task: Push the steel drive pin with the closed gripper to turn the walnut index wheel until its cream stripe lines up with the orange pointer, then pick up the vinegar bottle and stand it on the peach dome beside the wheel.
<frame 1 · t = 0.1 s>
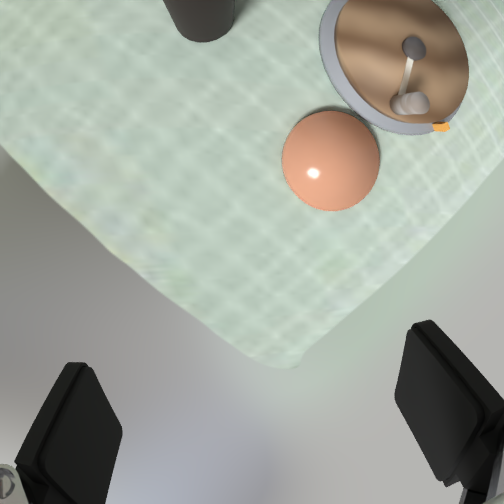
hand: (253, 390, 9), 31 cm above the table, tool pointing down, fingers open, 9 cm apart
index wheel: (418, 47, 28), point 5 cm above the table, hinge at 0.0°
peach dome: (331, 160, 37), on the table
wheel base: (399, 54, 33), on the table
vinegar: (204, 19, 30), on the table
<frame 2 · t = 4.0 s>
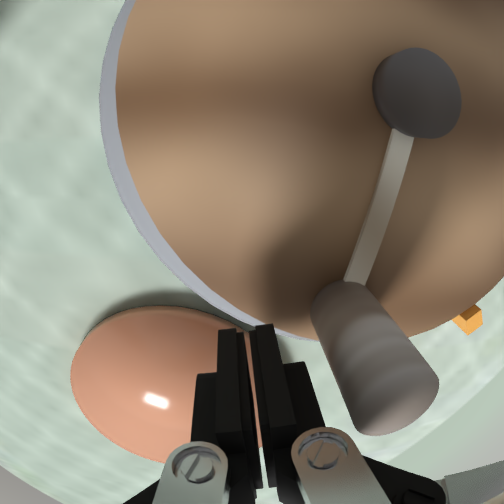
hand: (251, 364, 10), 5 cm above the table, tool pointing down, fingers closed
index wheel: (435, 91, 8), point 5 cm above the table, hinge at 1.1°, touching gripper
peach dome: (176, 397, 17), on the table
wheel base: (372, 101, 12), on the table
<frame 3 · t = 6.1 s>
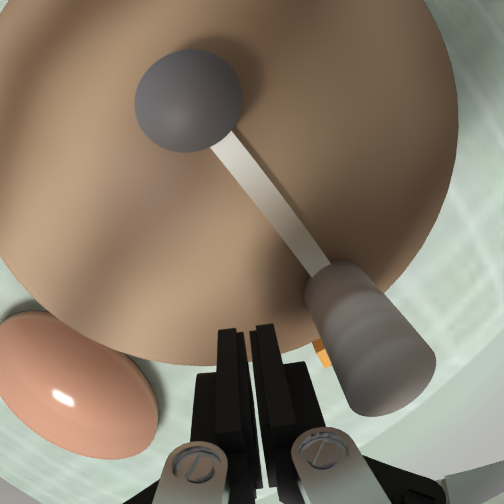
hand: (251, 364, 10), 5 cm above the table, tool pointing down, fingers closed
index wheel: (184, 97, 8), point 5 cm above the table, hinge at 53.8°, touching gripper
peach dome: (68, 392, 17), on the table
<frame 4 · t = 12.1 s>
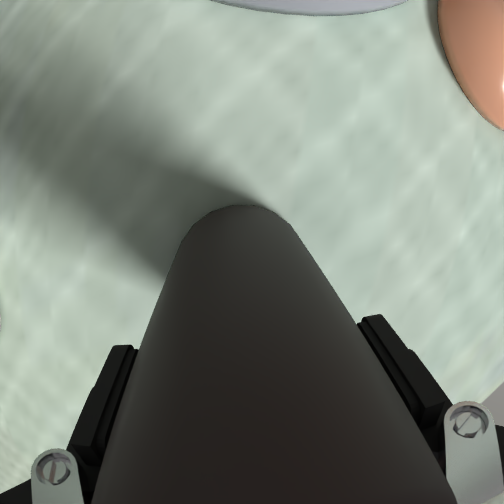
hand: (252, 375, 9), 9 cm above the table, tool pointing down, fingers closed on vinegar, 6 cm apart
peach dome: (502, 51, 13), on the table
vinegar: (241, 264, 18), on the table, touching gripper
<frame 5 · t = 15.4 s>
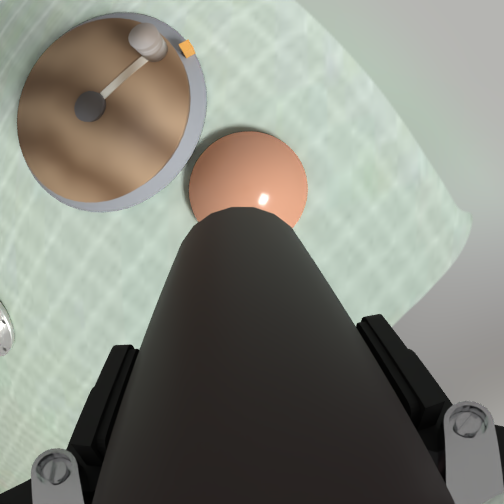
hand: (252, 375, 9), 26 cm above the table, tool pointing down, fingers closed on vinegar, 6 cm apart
index wheel: (85, 105, 25), point 5 cm above the table, hinge at 53.9°
peach dome: (248, 189, 33), on the table
wheel base: (103, 109, 29), on the table
vinegar: (241, 265, 18), point 17 cm above the table, touching gripper
when the fingers open (11 cm above the table, at t = 18.9 s): vinegar drops 1 cm, resting on peach dome.
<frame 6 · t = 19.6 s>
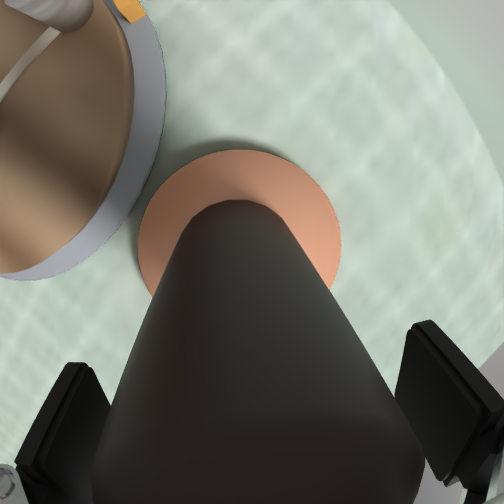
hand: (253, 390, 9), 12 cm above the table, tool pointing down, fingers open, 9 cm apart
peach dome: (239, 250, 20), on the table
wheel base: (12, 119, 16), on the table
vinegar: (236, 254, 19), point 1 cm above the table, touching peach dome
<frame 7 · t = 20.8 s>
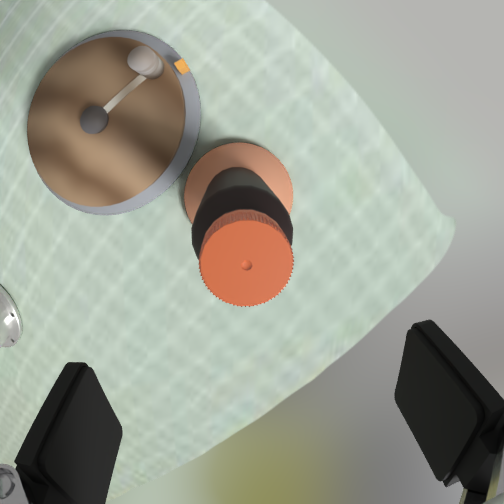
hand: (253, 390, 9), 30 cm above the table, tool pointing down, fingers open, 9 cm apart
index wheel: (90, 119, 28), point 5 cm above the table, hinge at 53.9°
peach dome: (238, 195, 36), on the table
wheel base: (107, 120, 32), on the table
vinegar: (236, 196, 36), point 1 cm above the table, touching peach dome
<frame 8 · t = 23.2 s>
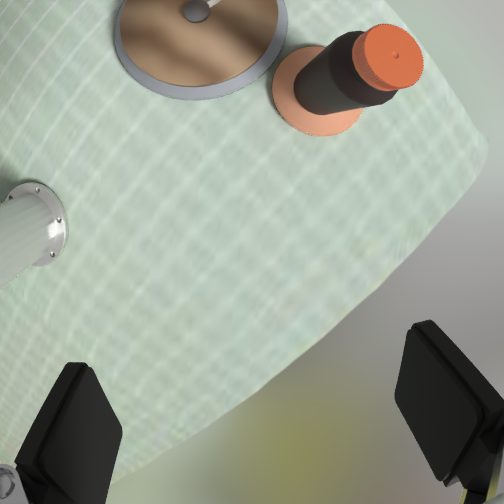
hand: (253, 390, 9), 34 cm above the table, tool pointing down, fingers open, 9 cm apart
index wheel: (196, 8, 28), point 5 cm above the table, hinge at 53.9°
peach dome: (318, 90, 37), on the table
wheel base: (199, 21, 33), on the table
vinegar: (318, 89, 36), point 1 cm above the table, touching peach dome
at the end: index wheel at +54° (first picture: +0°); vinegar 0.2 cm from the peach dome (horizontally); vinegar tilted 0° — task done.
